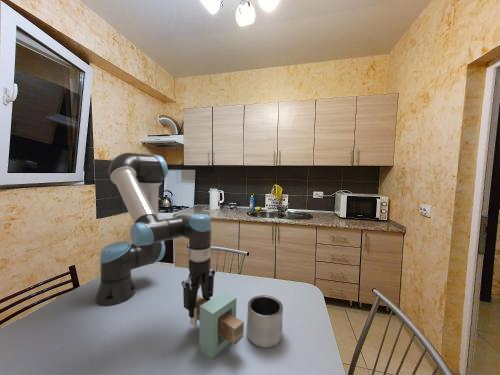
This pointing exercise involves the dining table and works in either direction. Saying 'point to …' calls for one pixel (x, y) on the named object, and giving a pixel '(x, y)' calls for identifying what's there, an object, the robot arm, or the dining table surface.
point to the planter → (264, 321)
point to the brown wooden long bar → (225, 324)
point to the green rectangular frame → (214, 323)
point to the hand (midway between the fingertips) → (198, 320)
